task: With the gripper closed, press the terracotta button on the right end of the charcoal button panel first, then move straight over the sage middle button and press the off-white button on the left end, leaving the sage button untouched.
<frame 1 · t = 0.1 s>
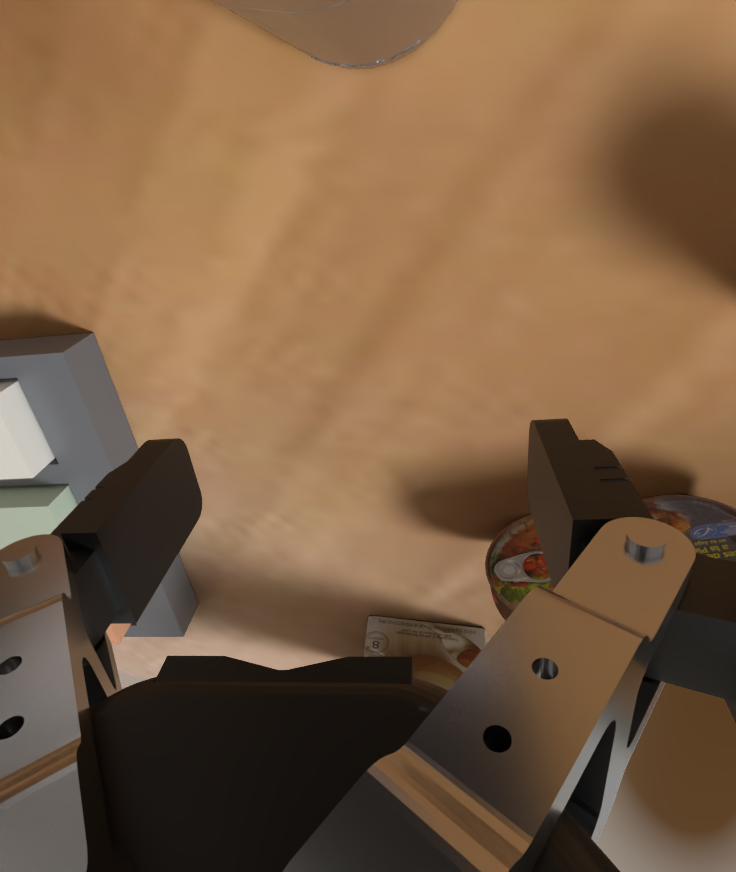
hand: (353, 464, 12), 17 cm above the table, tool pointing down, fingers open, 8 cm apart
terracotta button: (85, 600, 37), point 3 cm above the table, slide at 0.0 cm
sage button: (43, 523, 34), point 3 cm above the table, slide at 0.0 cm
coffee box: (422, 644, 42), on the table
tin: (599, 519, 34), on the table
button panel: (71, 492, 36), on the table
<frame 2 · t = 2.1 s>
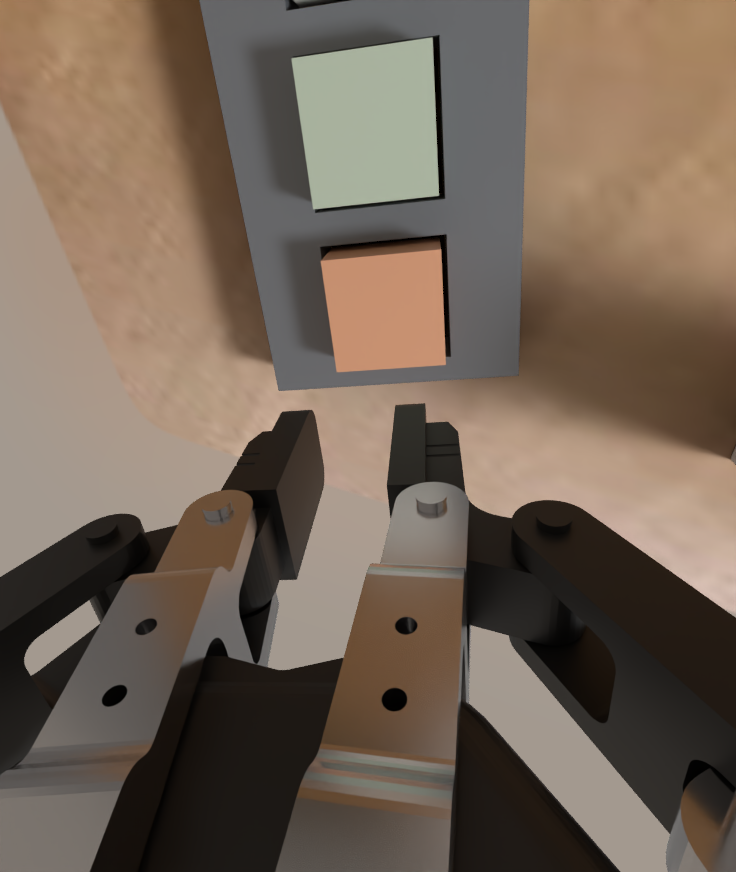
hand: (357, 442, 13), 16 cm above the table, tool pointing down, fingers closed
terracotta button: (387, 305, 24), point 3 cm above the table, slide at 0.0 cm
sage button: (371, 130, 21), point 3 cm above the table, slide at 0.0 cm
button panel: (377, 132, 24), on the table
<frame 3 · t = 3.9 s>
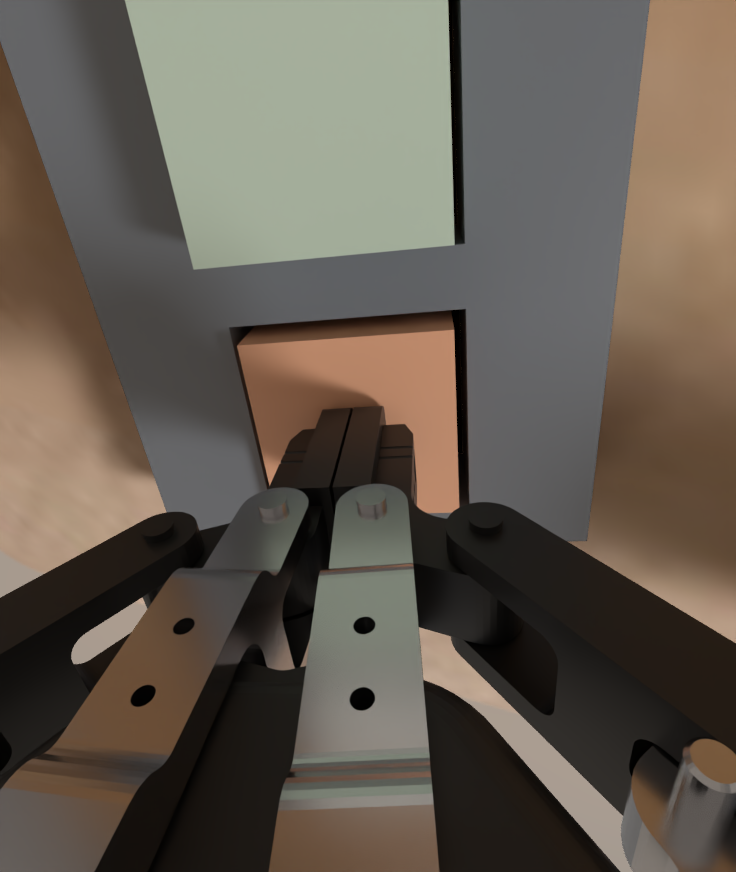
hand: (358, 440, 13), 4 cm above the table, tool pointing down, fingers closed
terracotta button: (361, 406, 15), point 2 cm above the table, slide at 1.3 cm, touching gripper
sage button: (314, 106, 10), point 3 cm above the table, slide at 0.0 cm
button panel: (338, 114, 13), on the table
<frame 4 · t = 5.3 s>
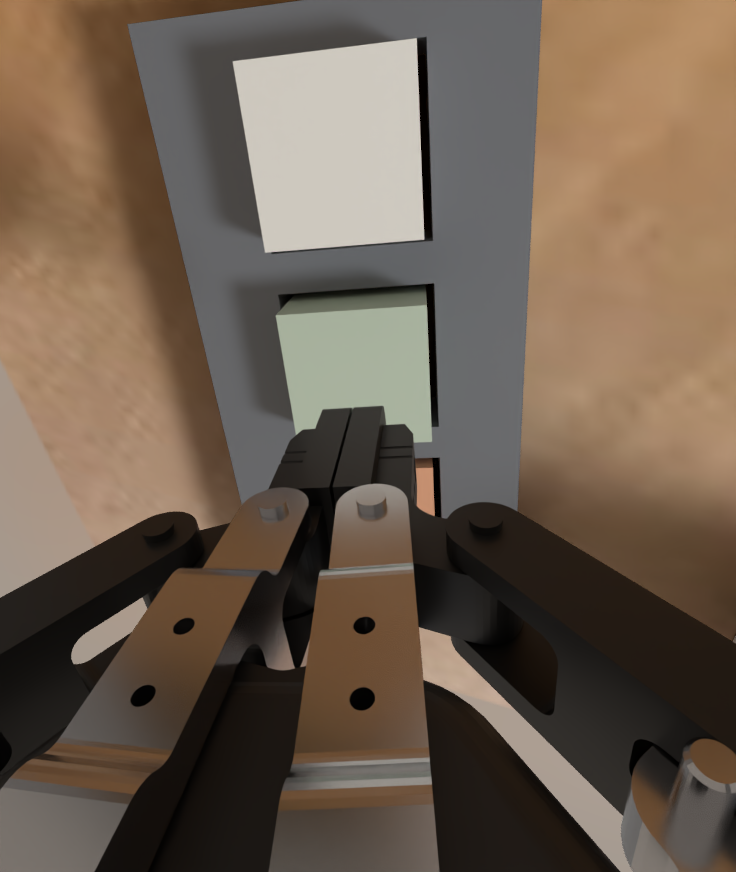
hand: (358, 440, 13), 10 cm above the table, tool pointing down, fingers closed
terracotta button: (379, 498, 24), point 2 cm above the table, slide at 1.5 cm
offwhite button: (340, 155, 17), point 3 cm above the table, slide at 0.0 cm
sage button: (361, 365, 20), point 3 cm above the table, slide at 0.0 cm
button panel: (368, 339, 23), on the table
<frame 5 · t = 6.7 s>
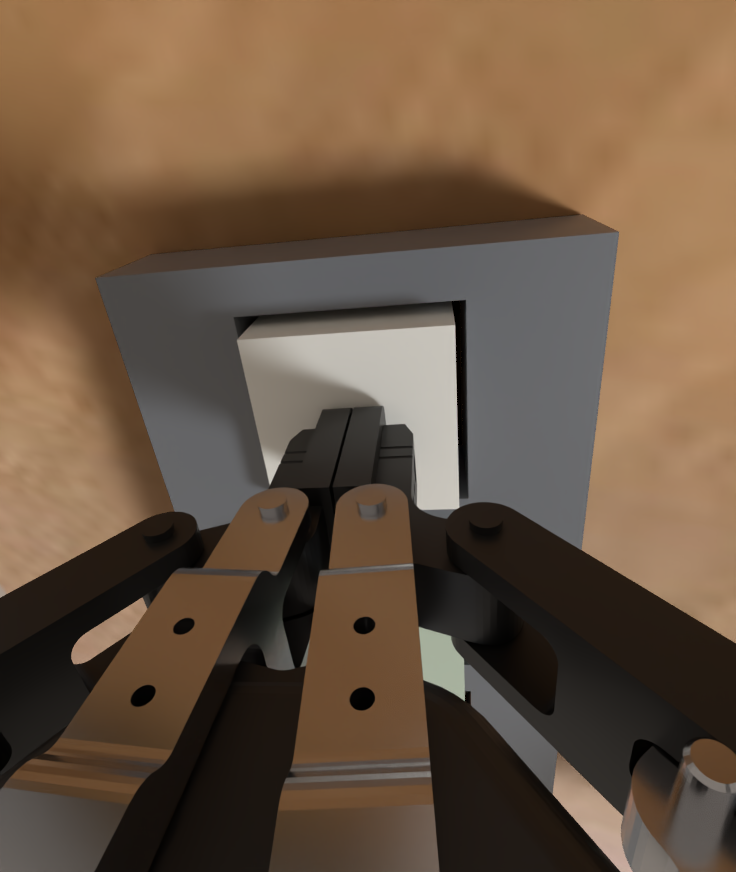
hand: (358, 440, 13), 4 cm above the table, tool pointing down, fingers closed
offwhite button: (362, 402, 15), point 2 cm above the table, slide at 0.9 cm, touching gripper
sage button: (382, 611, 17), point 3 cm above the table, slide at 0.0 cm
button panel: (388, 545, 20), on the table
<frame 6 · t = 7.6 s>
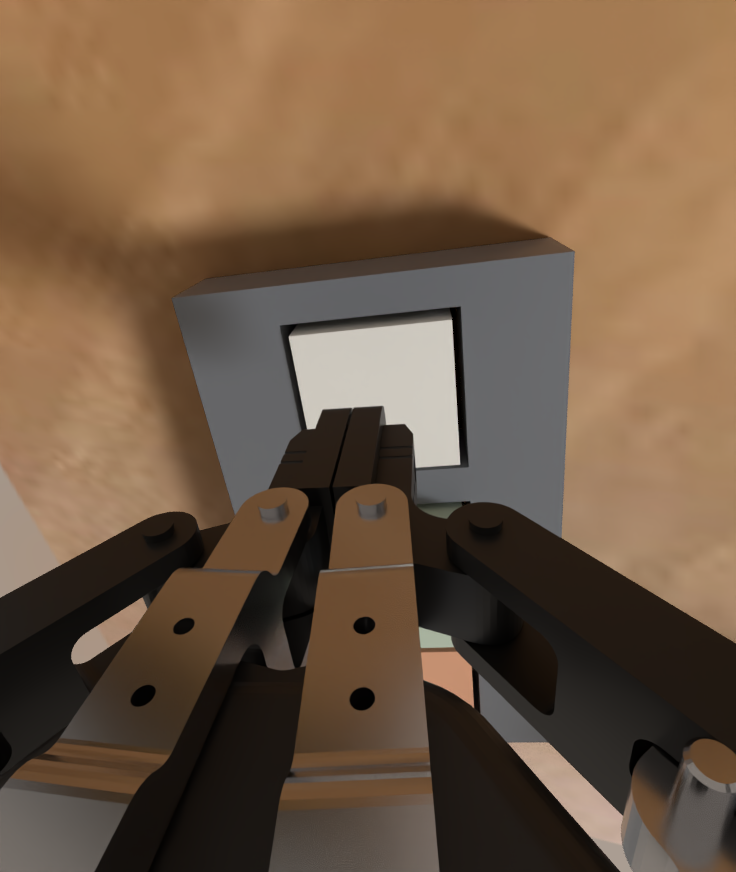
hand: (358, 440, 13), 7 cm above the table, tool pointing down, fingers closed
terracotta button: (415, 662, 25), point 2 cm above the table, slide at 1.5 cm
offwhite button: (381, 384, 19), point 2 cm above the table, slide at 1.5 cm
sage button: (400, 568, 20), point 3 cm above the table, slide at 0.0 cm
button panel: (402, 518, 23), on the table
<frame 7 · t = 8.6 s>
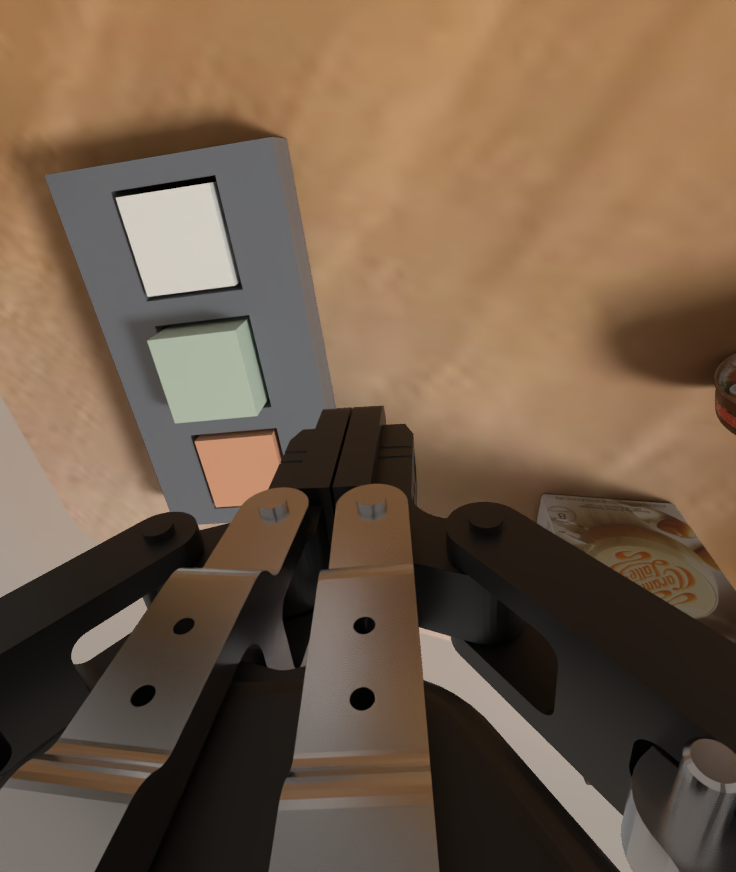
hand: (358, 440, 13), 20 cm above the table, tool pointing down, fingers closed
terracotta button: (249, 460, 35), point 2 cm above the table, slide at 1.5 cm
offwhite button: (188, 238, 29), point 2 cm above the table, slide at 1.5 cm
sage button: (213, 369, 31), point 3 cm above the table, slide at 0.0 cm
coffee box: (596, 531, 38), on the table
button panel: (231, 351, 34), on the table
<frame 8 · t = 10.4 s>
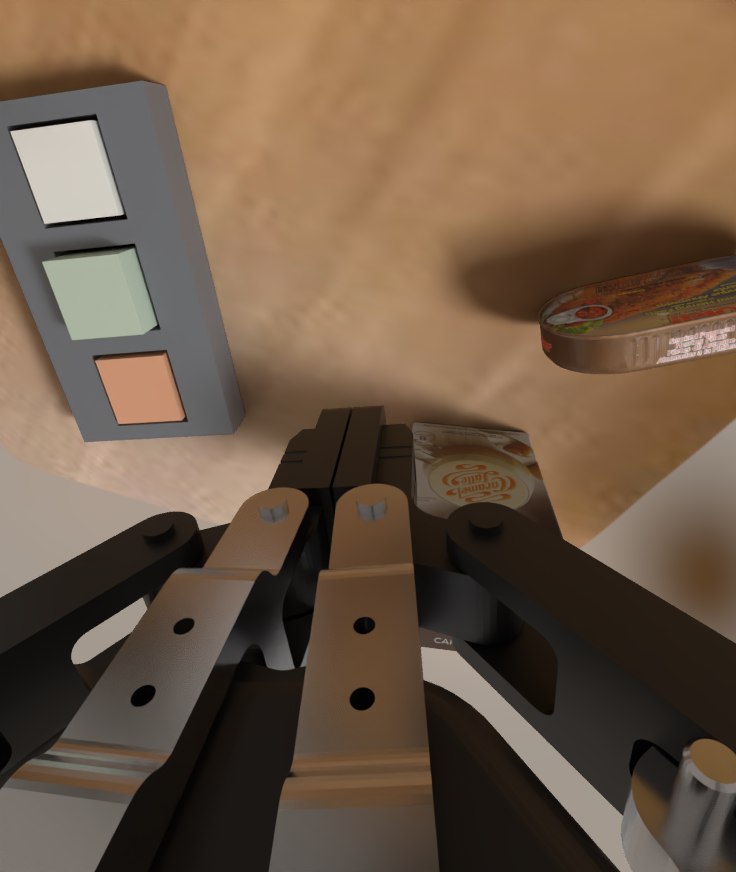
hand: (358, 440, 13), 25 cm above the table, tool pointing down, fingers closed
terracotta button: (149, 382, 39), point 2 cm above the table, slide at 1.5 cm
offwhite button: (81, 173, 33), point 2 cm above the table, slide at 1.5 cm
sage button: (107, 292, 35), point 3 cm above the table, slide at 0.0 cm
coffee box: (464, 458, 42), on the table
tin: (644, 294, 35), on the table
button panel: (130, 281, 38), on the table
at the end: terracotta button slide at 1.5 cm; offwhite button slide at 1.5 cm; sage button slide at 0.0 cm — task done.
